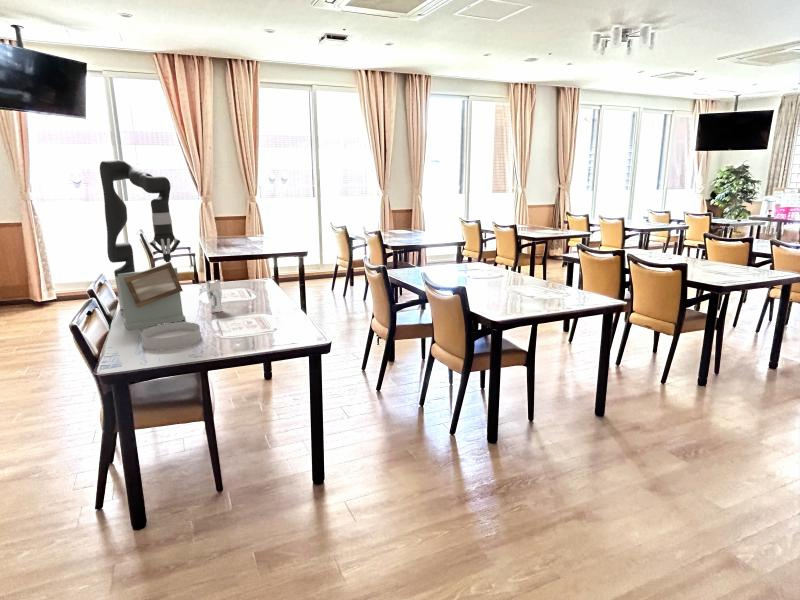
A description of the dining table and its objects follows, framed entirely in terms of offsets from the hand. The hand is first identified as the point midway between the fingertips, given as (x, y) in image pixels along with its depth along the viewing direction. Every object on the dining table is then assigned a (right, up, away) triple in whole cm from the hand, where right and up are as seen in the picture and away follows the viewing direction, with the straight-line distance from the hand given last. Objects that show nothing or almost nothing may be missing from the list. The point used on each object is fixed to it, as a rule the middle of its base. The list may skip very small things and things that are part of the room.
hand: (167, 261), depth 230 cm
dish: (+12, -34, -22) cm, 42 cm away
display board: (-8, -27, +6) cm, 29 cm away
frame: (-4, -17, +1) cm, 17 cm away
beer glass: (+14, -23, +22) cm, 35 cm away
